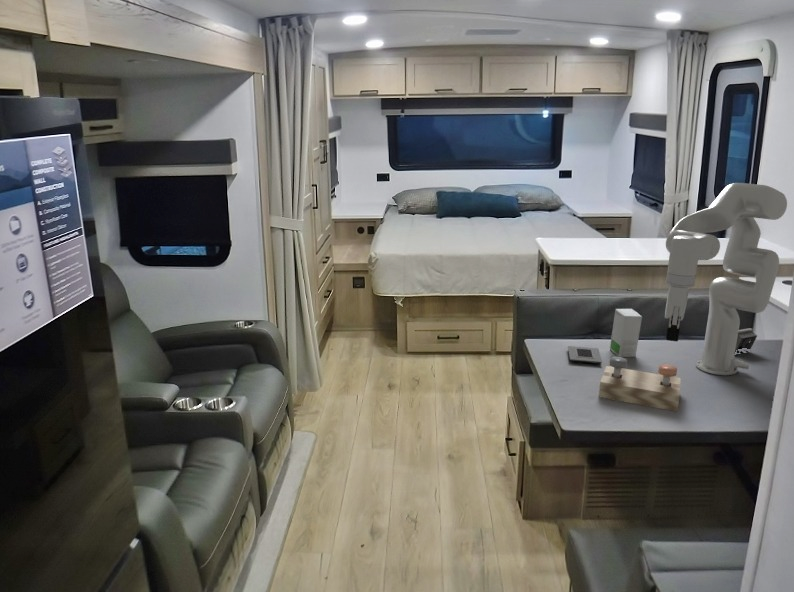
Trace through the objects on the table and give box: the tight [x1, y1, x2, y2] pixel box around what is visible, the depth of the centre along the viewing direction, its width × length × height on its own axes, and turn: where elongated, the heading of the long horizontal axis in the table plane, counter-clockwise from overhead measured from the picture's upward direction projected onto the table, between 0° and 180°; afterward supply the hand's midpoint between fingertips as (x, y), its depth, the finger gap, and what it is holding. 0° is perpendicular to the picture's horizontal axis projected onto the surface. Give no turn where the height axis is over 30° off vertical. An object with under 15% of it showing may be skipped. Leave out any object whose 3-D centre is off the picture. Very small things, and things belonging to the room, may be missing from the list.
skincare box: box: [609, 308, 643, 358], centre depth 228 cm, size 8×7×16 cm
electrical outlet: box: [567, 345, 603, 365], centre depth 225 cm, size 13×10×2 cm
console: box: [598, 365, 682, 412], centre depth 195 cm, size 22×14×5 cm, turn 66°
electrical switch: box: [735, 327, 758, 352], centre depth 230 cm, size 9×5×9 cm, turn 113°
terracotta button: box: [657, 363, 678, 386], centre depth 191 cm, size 5×5×6 cm
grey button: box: [609, 356, 628, 378], centre depth 197 cm, size 5×5×6 cm
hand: (671, 339), depth 188 cm, fingers closed
